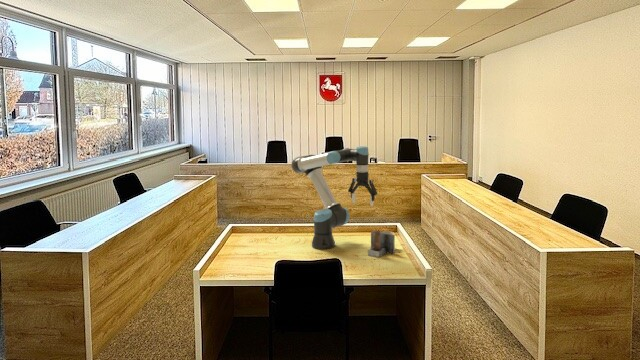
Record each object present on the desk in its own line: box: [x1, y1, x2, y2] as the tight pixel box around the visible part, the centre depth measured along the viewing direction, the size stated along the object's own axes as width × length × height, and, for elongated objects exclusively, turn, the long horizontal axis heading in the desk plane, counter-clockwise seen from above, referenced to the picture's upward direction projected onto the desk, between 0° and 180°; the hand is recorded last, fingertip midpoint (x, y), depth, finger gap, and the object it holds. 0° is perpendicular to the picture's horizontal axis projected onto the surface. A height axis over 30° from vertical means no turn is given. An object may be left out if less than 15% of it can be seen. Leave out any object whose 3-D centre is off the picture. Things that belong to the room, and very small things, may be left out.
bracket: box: [367, 230, 396, 258], centre depth 328 cm, size 16×12×12 cm
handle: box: [372, 229, 381, 251], centre depth 326 cm, size 4×4×14 cm
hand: (362, 204), depth 335 cm, fingers open, 13 cm apart
